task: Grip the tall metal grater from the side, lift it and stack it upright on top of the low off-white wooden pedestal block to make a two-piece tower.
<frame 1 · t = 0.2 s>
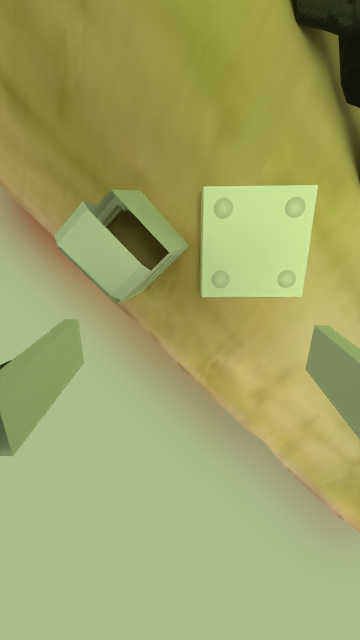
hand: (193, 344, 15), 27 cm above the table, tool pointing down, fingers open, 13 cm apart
handgun: (334, 97, 33), on the table
pedestal: (247, 243, 39), on the table
grater: (141, 244, 39), on the table
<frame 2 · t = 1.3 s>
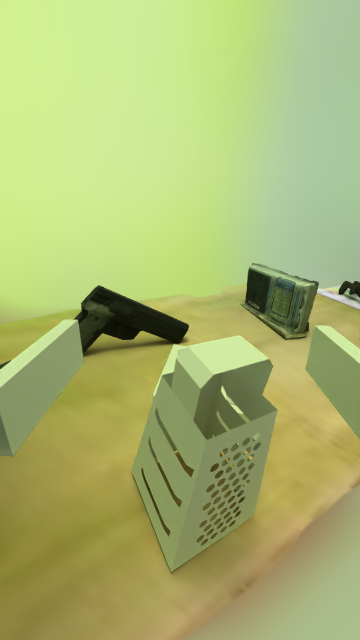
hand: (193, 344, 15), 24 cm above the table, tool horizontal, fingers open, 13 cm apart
handgun: (125, 349, 56), on the table
radio: (267, 320, 74), on the table
pedestal: (202, 397, 44), on the table
grater: (189, 492, 30), on the table
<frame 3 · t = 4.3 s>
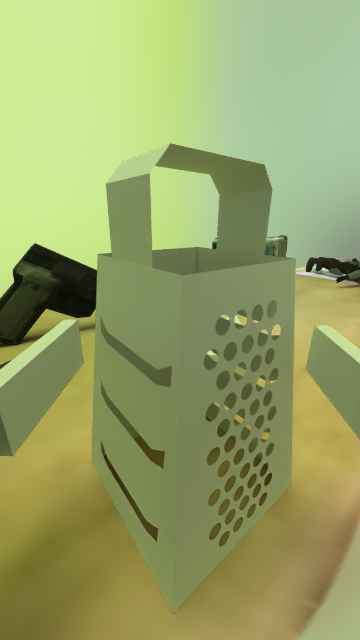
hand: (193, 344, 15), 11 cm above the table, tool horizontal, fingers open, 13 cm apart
handgun: (81, 331, 44), on the table
radio: (239, 294, 67), on the table
toy: (347, 280, 86), on the table
grater: (187, 475, 19), on the table
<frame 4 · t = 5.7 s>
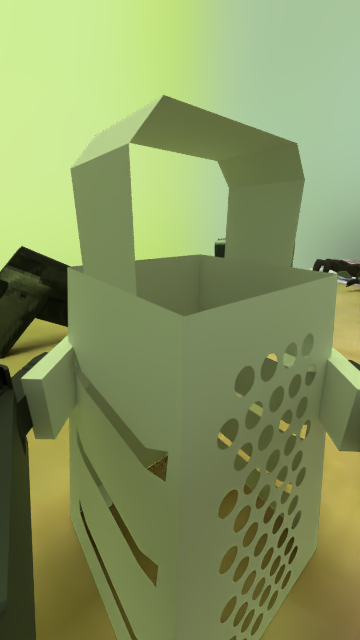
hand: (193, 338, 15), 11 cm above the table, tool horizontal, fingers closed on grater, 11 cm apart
handgun: (75, 342, 40), on the table
toy: (356, 283, 82), on the table
grater: (188, 534, 16), on the table, touching gripper
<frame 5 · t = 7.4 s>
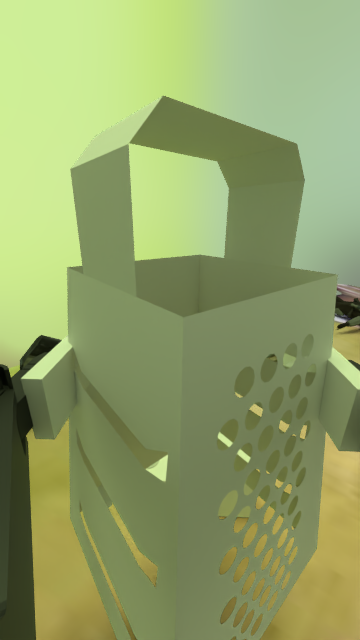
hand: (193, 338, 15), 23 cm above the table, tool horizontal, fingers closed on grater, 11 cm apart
handgun: (86, 408, 45), on the table
toy: (348, 320, 86), on the table
pedestal: (188, 459, 35), on the table
grater: (187, 534, 16), point 12 cm above the table, touching gripper
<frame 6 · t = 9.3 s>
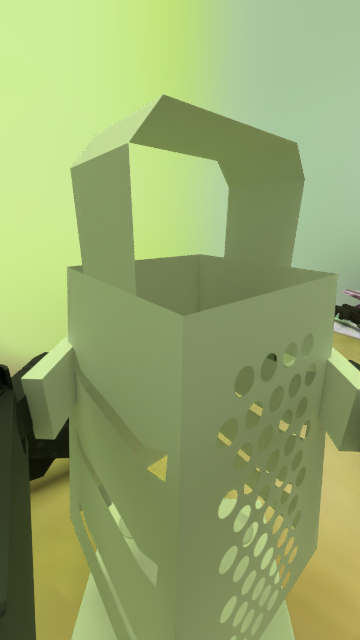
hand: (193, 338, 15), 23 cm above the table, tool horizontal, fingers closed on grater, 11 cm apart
handgun: (32, 494, 30), on the table
pedestal: (183, 632, 20), on the table
grater: (187, 534, 16), point 12 cm above the table, touching gripper
when the fingers open (17 cm above the table, at t = 11.0 s): grater drops 1 cm, resting on pedestal.
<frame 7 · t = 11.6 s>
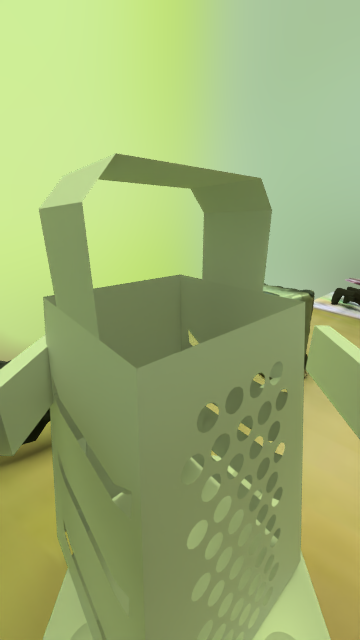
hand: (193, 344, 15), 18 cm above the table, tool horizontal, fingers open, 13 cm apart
handgun: (24, 461, 28), on the table
radio: (246, 354, 51), on the table
pedestal: (186, 594, 18), on the table
grater: (174, 550, 16), point 5 cm above the table, touching pedestal
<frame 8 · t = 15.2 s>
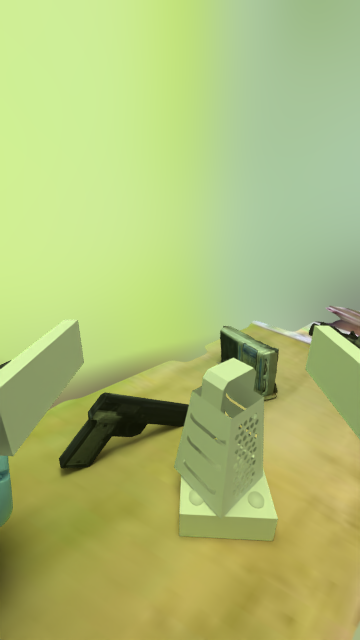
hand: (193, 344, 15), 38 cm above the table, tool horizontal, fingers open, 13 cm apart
handgun: (133, 444, 56), on the table
radio: (241, 380, 78), on the table
toy: (345, 350, 97), on the table
pedestal: (220, 492, 45), on the table
grater: (217, 472, 44), point 5 cm above the table, touching pedestal
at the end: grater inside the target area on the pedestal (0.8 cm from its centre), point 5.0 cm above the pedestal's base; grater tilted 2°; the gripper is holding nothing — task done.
